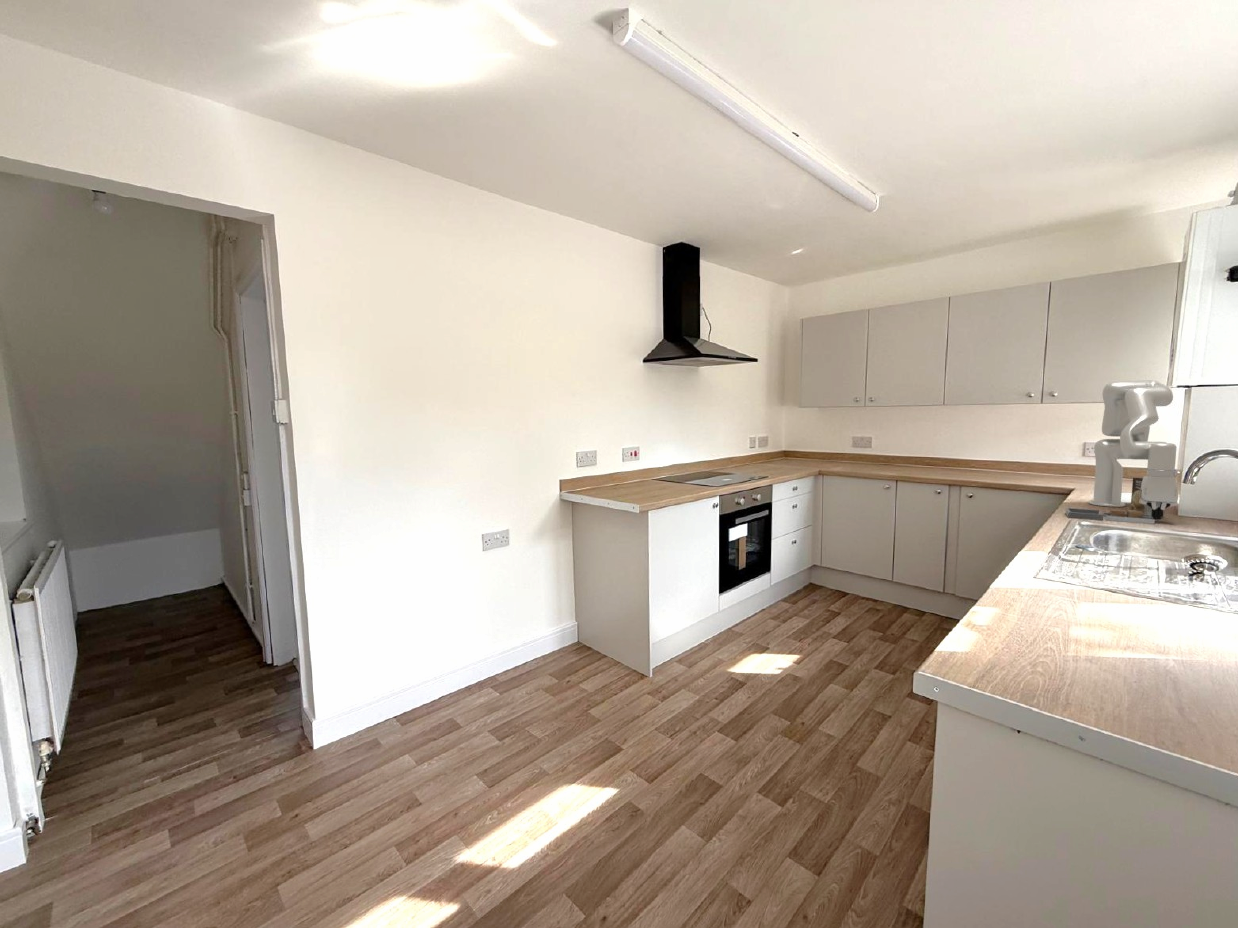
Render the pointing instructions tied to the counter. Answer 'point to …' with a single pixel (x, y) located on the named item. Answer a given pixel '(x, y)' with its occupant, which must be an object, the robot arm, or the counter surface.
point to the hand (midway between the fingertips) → (1156, 518)
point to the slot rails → (1129, 518)
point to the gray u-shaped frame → (1083, 514)
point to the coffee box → (1136, 497)
